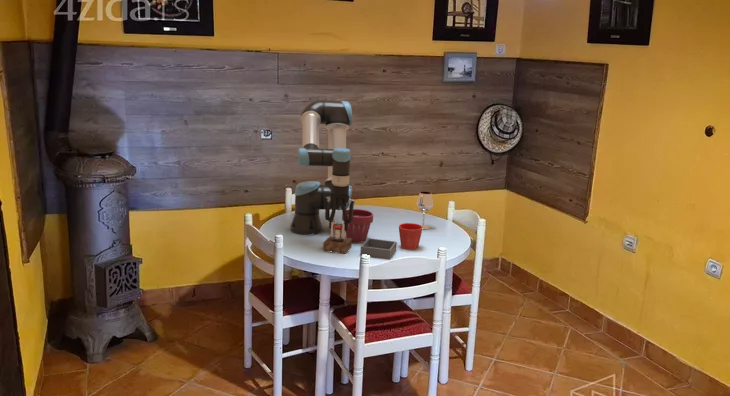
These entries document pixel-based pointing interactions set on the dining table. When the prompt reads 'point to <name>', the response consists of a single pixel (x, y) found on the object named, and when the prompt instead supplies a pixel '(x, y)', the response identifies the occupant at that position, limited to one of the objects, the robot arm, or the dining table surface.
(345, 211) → the robot arm
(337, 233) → the lock pin
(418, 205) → the wineglass
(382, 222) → the dining table surface
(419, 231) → the flower pot
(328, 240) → the pin block
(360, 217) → the plant pot
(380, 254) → the tray
